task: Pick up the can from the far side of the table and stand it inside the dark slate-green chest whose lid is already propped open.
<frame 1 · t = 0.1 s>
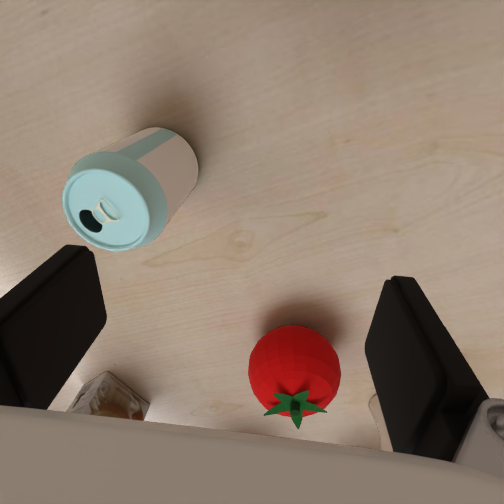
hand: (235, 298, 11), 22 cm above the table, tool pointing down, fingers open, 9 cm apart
tomato: (292, 339, 42), on the table
coffee box: (117, 393, 50), on the table
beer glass: (390, 402, 46), on the table
can: (164, 164, 32), on the table
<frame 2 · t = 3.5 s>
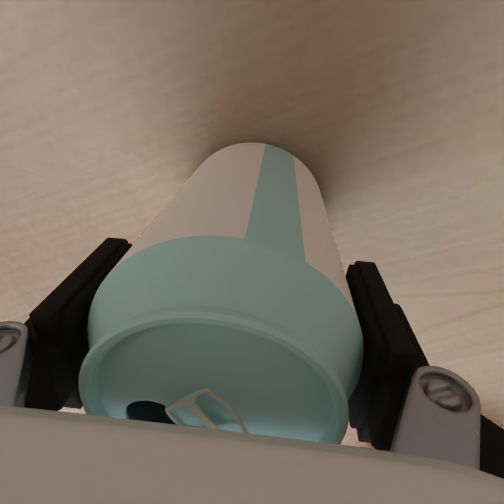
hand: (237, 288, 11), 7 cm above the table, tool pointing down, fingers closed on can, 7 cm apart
can: (254, 207, 17), on the table, touching gripper
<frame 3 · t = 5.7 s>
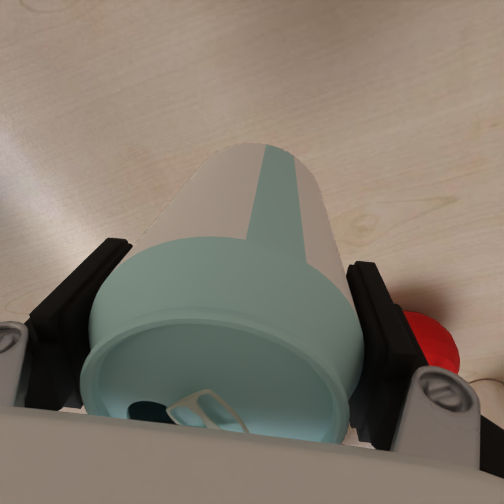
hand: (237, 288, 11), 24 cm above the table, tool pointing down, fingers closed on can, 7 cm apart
tomato: (394, 326, 42), on the table
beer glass: (481, 392, 46), on the table
can: (254, 207, 18), point 17 cm above the table, touching gripper
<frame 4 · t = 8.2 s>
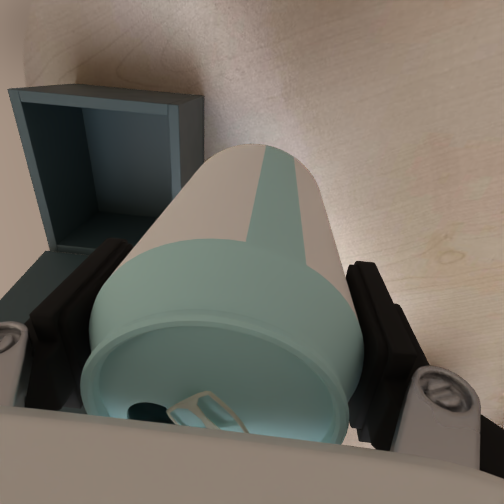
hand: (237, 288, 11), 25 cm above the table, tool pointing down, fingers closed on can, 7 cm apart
lid: (81, 341, 26), point 16 cm above the table, hinge at 100.0°
chest: (145, 161, 34), on the table
can: (254, 208, 18), point 17 cm above the table, touching gripper
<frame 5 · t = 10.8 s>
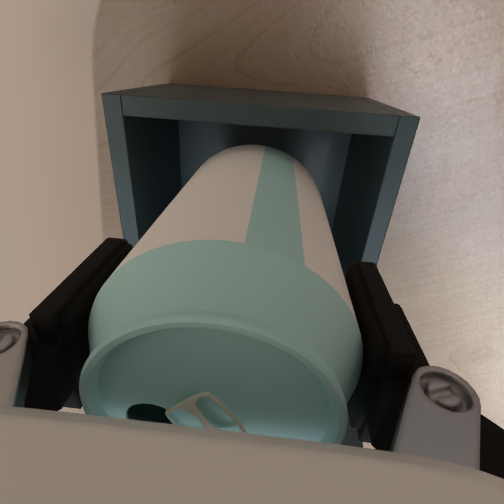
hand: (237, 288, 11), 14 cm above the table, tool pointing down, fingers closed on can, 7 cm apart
chest: (259, 194, 24), on the table
can: (254, 208, 18), point 6 cm above the table, touching gripper
when the fingers open (8 cm above the table, at t = 13.1 s): can stays where it is, resting on chest.
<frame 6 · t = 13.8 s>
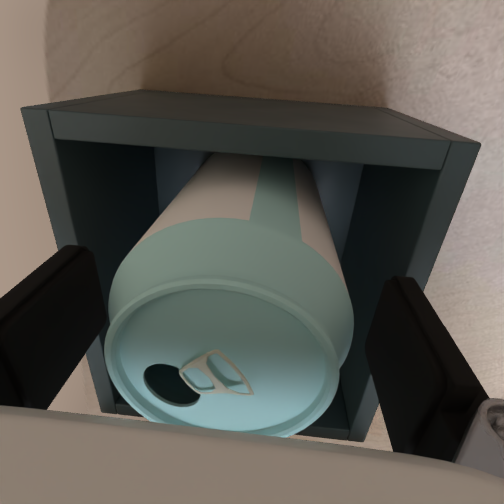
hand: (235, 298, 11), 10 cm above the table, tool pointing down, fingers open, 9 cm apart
chest: (253, 221, 20), on the table
can: (255, 202, 19), point 1 cm above the table, touching chest
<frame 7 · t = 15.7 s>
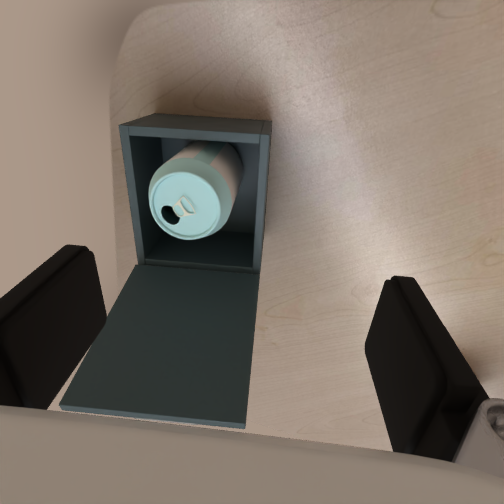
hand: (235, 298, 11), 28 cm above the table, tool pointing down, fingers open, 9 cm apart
lid: (181, 344, 29), point 16 cm above the table, hinge at 100.0°
chest: (213, 180, 38), on the table
can: (212, 168, 37), point 1 cm above the table, touching chest
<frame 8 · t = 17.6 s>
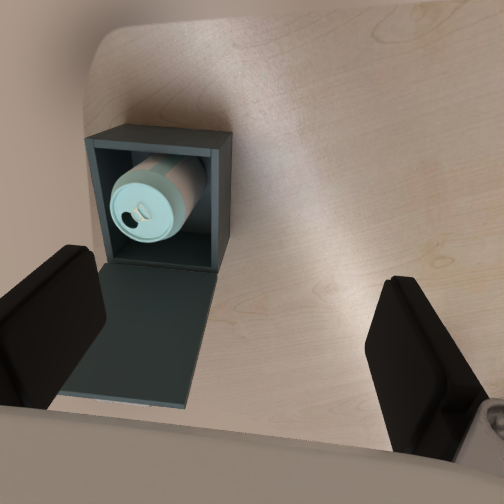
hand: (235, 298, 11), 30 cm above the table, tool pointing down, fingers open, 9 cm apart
lid: (141, 336, 32), point 16 cm above the table, hinge at 100.0°
chest: (180, 185, 41), on the table
can: (179, 174, 40), point 1 cm above the table, touching chest
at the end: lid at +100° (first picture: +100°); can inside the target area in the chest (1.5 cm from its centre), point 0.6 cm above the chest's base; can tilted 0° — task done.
